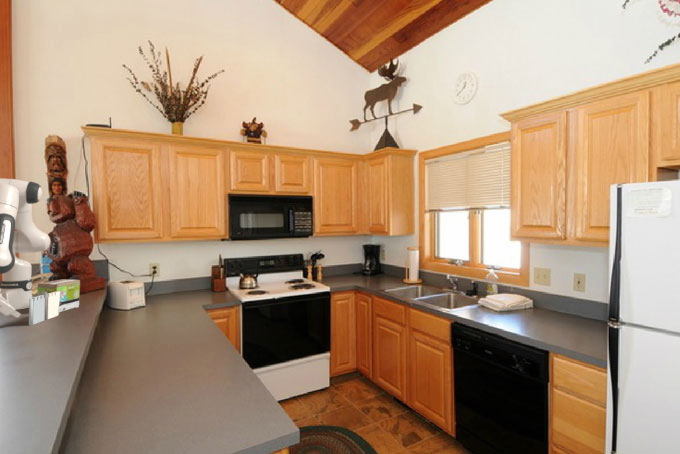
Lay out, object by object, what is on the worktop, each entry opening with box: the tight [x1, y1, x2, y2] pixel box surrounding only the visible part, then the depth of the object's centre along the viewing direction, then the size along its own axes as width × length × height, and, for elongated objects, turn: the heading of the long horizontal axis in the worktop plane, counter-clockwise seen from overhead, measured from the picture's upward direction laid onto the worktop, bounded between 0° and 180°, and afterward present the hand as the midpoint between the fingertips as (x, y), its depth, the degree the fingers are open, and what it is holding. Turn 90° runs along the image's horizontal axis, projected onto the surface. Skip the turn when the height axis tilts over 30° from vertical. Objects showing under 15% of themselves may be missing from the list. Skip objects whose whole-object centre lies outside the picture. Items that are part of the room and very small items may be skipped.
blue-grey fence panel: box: [28, 295, 45, 326], centre depth 153 cm, size 8×1×11 cm, turn 6°
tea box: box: [36, 278, 81, 313], centre depth 177 cm, size 15×10×15 cm, turn 179°
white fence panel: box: [44, 291, 60, 321], centre depth 162 cm, size 1×9×13 cm, turn 6°
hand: (18, 315), depth 148 cm, fingers closed
